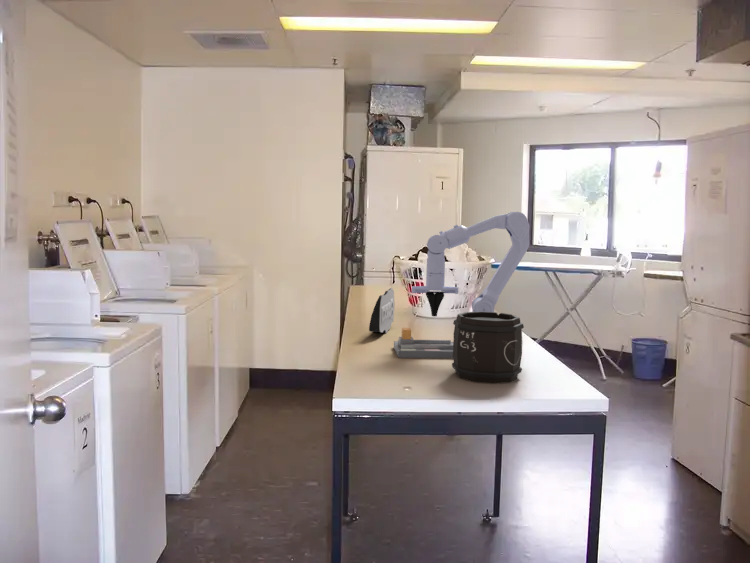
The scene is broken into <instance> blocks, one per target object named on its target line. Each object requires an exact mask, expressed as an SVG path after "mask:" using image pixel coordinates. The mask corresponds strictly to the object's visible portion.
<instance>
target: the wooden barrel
mask: <svg viewBox="0 0 750 563" xmlns="http://www.w3.org/2000/svg"><path fill="white" fill-rule="evenodd" d="M452 324H453V325H454V329H453V341H452V342H453V358H452V360H453V362H452V363H451V367H452V368H453V370H454V373H455V375H456V376H457V377H458V378H459V379H462V380H466V381H470V382H472V383H485V384H504V383H512V382H513V381H514V380H517V379H518V376H519V374H520V373H522V371H523V368H522V367H521V363H522V355H523V329H524V328H525V327H524V323H522V322H521V318H520V317H518V316H517V315H515V314H511V313H506V312H500V313H499V314H498V312H496V311H494V312H473V311H464V312H461V313H457V315H456V319H454V320H453V323H452Z"/></svg>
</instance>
